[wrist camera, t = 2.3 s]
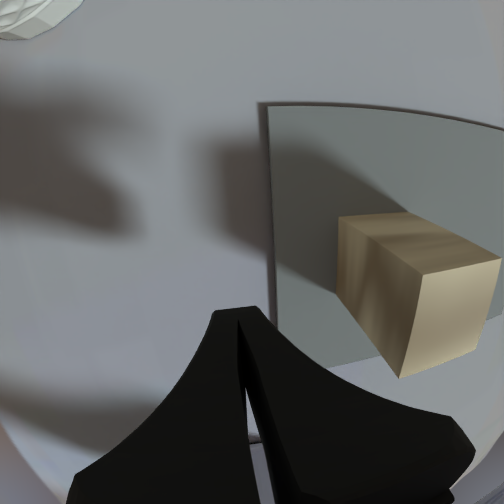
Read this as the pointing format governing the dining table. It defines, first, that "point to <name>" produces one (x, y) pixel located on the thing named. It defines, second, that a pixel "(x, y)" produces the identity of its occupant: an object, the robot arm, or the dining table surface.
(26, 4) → the white cup
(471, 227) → the rubber mat
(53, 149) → the dining table surface
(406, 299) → the maple block
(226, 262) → the dining table surface
